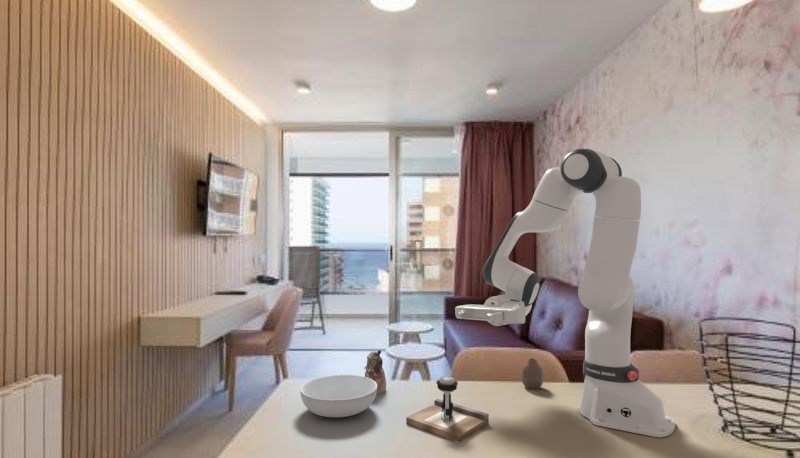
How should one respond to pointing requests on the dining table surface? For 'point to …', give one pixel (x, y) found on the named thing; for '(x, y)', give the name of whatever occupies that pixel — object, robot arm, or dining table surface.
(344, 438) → the dining table surface
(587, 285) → the robot arm
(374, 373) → the figurine
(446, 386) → the push button
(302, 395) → the serving bowl
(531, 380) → the vase
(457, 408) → the brown board with label
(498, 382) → the dining table surface
